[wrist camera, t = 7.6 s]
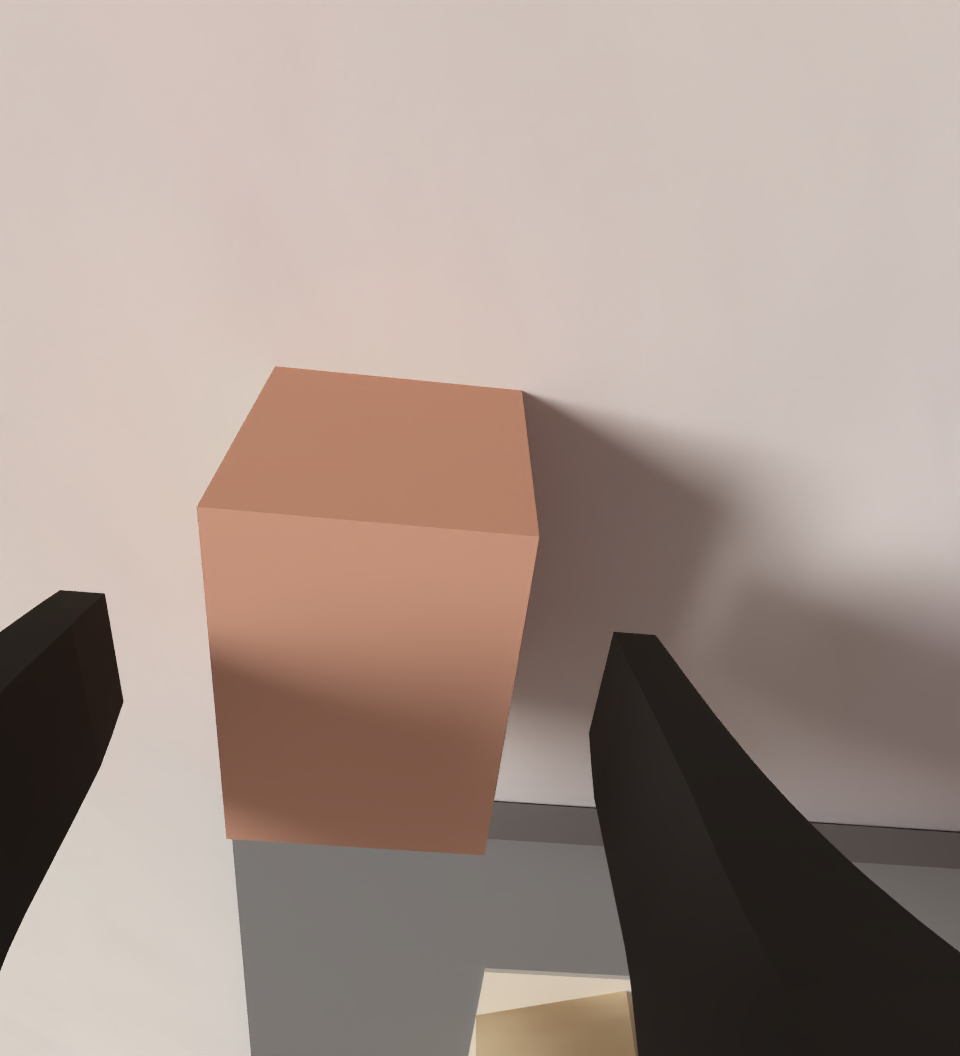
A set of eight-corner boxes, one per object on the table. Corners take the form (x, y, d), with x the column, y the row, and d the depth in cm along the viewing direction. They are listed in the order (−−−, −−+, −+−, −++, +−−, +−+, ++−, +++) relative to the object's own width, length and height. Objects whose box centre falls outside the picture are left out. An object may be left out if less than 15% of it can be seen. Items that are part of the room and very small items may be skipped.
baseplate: (1011, 836, 20) (1038, 878, 19) (783, 1163, 29) (794, 1202, 28) (242, 785, 18) (229, 825, 18) (268, 1142, 28) (261, 1181, 27)
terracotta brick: (521, 388, 14) (539, 537, 10) (482, 662, 17) (484, 854, 13) (276, 364, 13) (196, 507, 10) (283, 647, 17) (226, 838, 13)
